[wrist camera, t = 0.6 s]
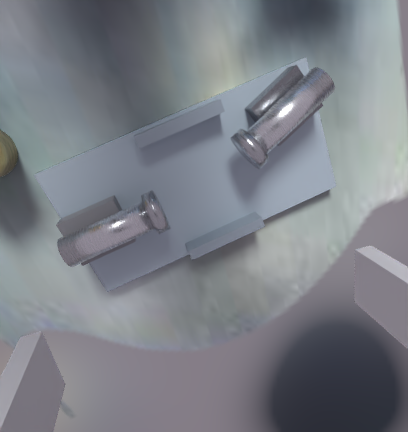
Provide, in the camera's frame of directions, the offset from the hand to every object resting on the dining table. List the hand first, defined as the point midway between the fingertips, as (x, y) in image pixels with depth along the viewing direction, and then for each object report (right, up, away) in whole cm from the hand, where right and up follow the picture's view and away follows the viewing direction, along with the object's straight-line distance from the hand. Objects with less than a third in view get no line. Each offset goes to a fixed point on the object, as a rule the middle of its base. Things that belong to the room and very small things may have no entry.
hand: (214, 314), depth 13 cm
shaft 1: (-10, +3, +19) cm, 22 cm away
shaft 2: (+7, +15, +20) cm, 26 cm away
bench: (-1, +8, +22) cm, 24 cm away
